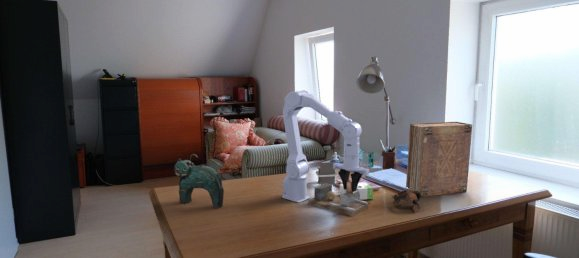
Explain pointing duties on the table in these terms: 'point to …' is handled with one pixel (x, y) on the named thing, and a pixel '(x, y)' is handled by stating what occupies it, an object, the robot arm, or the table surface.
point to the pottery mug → (404, 196)
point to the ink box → (361, 191)
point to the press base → (334, 201)
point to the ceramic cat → (198, 181)
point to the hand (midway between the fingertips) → (350, 190)
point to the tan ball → (331, 195)
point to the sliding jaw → (349, 195)
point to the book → (438, 158)
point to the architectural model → (326, 173)
